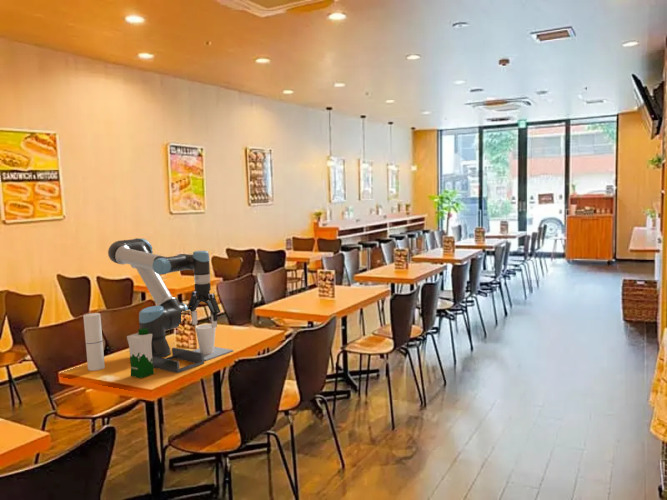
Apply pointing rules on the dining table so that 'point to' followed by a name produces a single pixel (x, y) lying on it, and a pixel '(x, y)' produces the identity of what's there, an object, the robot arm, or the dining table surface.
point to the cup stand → (174, 365)
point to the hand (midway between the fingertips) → (204, 325)
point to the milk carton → (141, 353)
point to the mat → (215, 353)
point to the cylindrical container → (94, 341)
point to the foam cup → (206, 338)
